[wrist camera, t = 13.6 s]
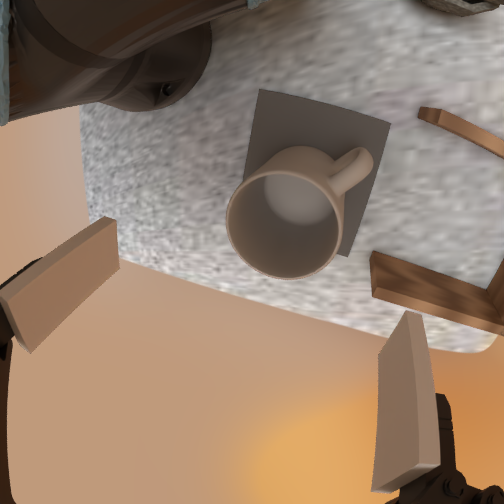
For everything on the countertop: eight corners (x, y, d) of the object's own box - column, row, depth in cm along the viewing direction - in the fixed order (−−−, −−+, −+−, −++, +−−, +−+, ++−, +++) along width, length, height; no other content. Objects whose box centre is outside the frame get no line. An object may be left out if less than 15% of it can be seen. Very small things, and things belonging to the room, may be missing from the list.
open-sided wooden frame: (369, 259, 32) (372, 296, 26) (420, 106, 23) (441, 109, 17) (488, 299, 30) (505, 336, 24) (546, 174, 21) (579, 194, 15)
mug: (296, 239, 33) (273, 298, 24) (246, 177, 32) (201, 215, 22) (389, 179, 27) (410, 220, 18) (337, 107, 26) (334, 110, 16)
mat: (236, 222, 35) (235, 223, 35) (260, 89, 27) (259, 89, 27) (347, 255, 33) (347, 257, 33) (390, 123, 25) (391, 123, 25)
